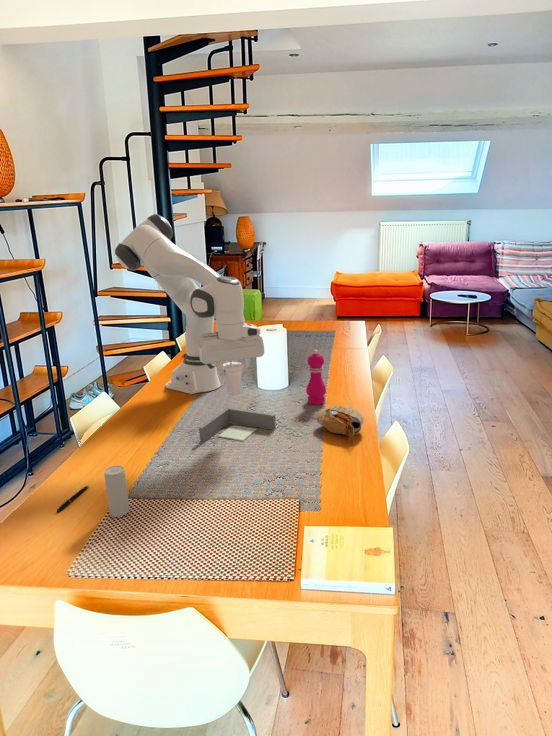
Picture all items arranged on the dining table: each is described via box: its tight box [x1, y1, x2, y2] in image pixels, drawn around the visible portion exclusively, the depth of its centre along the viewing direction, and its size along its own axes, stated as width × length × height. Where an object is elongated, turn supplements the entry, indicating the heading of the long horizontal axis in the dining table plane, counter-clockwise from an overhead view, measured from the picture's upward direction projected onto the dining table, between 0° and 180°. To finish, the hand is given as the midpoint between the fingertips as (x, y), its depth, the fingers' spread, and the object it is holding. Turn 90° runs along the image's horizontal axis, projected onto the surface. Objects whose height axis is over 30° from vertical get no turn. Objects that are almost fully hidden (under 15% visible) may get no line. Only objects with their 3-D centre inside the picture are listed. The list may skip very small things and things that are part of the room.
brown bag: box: [316, 405, 365, 446], centre depth 177 cm, size 8×22×15 cm
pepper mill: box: [305, 349, 327, 406], centre depth 203 cm, size 7×7×20 cm
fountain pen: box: [56, 483, 91, 513], centre depth 146 cm, size 14×1×2 cm, turn 163°
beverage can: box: [103, 465, 131, 518], centre depth 137 cm, size 5×5×12 cm
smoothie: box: [222, 360, 243, 397], centre depth 175 cm, size 6×6×14 cm
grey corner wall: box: [198, 407, 277, 444], centre depth 180 cm, size 18×18×5 cm
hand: (233, 373), depth 175 cm, fingers closed on smoothie, 6 cm apart
